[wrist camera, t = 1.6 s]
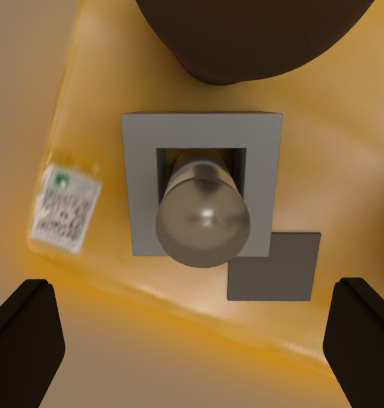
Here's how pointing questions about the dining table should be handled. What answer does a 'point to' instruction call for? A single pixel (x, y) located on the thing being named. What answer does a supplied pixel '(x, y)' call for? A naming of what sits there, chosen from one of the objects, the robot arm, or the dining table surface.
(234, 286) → the mat
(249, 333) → the dining table surface
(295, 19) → the olive oil
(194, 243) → the silver metallic cylinder
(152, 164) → the housing
